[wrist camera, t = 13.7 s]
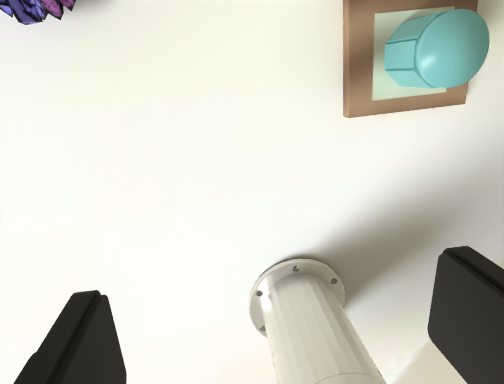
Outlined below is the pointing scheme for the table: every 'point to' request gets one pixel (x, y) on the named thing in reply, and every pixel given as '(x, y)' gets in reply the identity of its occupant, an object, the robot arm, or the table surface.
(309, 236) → the table surface
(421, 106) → the post board
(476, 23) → the teal cap
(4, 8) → the decorative ornament
